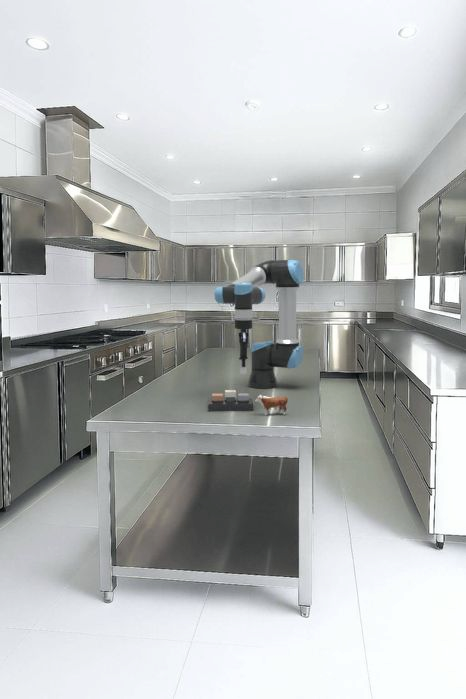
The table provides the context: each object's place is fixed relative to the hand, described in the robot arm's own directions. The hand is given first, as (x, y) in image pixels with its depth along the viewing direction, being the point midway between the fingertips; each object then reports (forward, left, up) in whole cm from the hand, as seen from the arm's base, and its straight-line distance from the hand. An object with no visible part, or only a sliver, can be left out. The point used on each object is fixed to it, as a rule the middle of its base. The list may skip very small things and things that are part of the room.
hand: (243, 374), depth 238 cm
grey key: (0, +1, -14) cm, 14 cm away
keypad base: (+6, +1, -15) cm, 16 cm away
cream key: (+6, +1, -12) cm, 14 cm away
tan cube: (+11, +1, -14) cm, 18 cm away
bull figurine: (-11, +13, -15) cm, 23 cm away
